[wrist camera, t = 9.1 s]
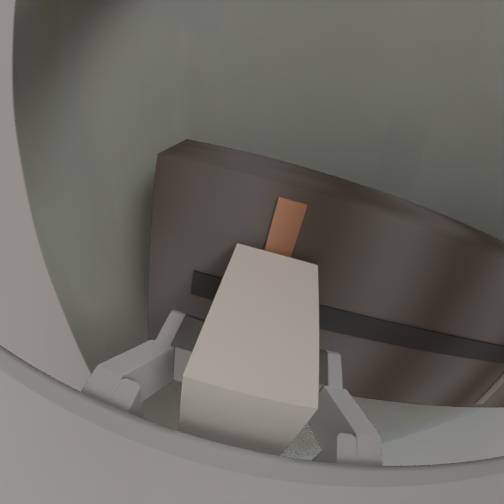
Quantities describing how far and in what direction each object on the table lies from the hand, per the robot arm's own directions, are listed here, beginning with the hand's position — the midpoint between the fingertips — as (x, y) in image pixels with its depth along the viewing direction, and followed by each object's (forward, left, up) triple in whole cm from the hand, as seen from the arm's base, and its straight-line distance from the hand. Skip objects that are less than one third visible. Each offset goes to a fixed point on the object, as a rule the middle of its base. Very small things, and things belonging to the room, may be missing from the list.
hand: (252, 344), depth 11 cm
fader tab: (0, 0, -2) cm, 2 cm away
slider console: (-8, 0, -6) cm, 10 cm away
